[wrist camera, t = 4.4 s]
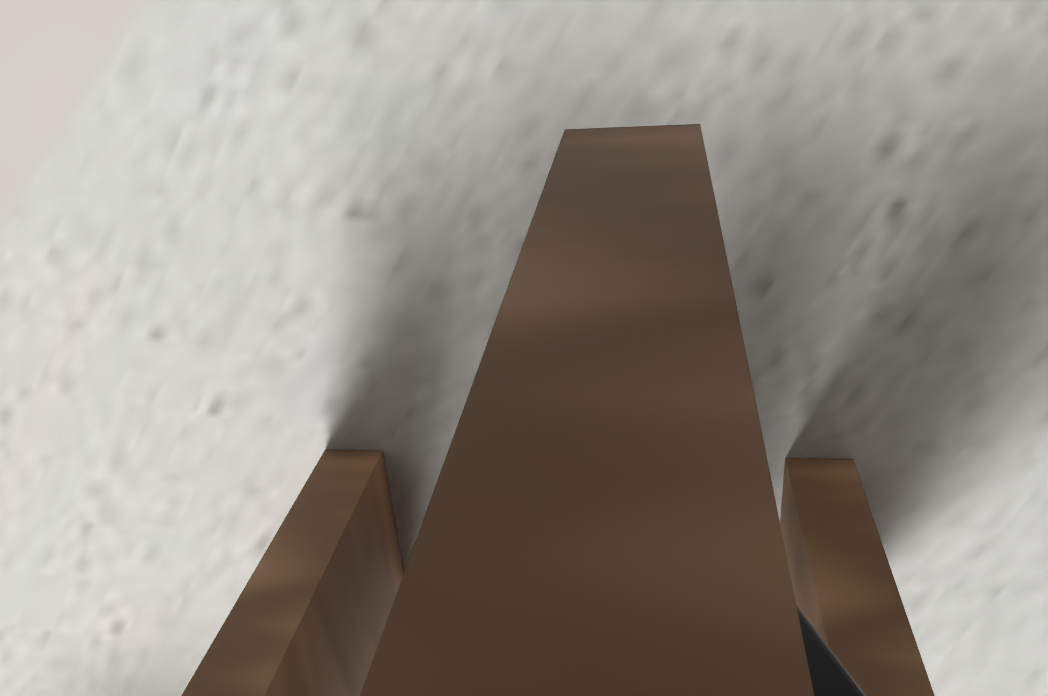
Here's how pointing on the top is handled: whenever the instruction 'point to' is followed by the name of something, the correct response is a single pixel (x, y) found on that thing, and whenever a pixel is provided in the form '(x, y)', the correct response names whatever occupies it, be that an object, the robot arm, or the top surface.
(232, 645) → the tile
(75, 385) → the top surface
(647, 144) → the tile
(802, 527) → the tile
